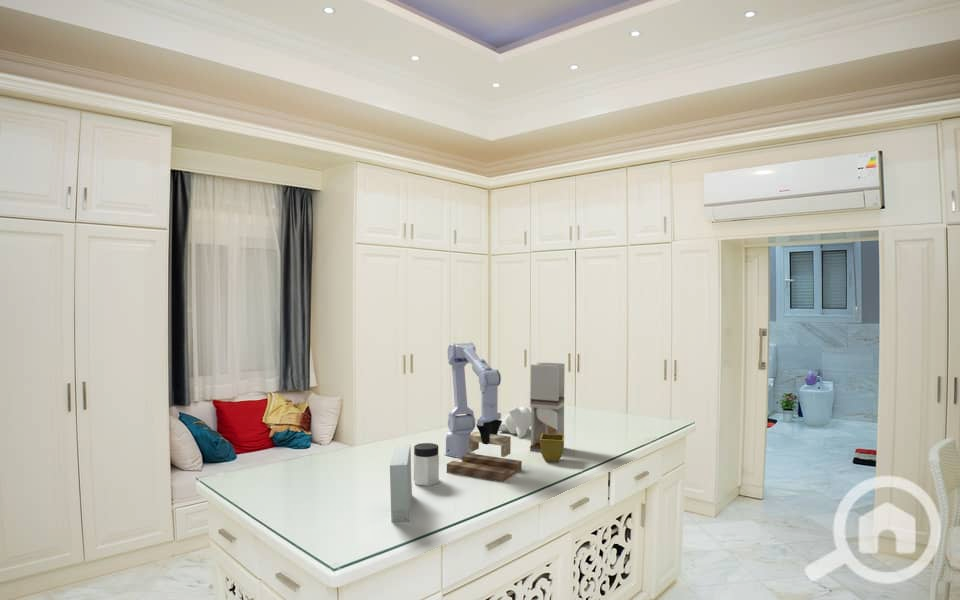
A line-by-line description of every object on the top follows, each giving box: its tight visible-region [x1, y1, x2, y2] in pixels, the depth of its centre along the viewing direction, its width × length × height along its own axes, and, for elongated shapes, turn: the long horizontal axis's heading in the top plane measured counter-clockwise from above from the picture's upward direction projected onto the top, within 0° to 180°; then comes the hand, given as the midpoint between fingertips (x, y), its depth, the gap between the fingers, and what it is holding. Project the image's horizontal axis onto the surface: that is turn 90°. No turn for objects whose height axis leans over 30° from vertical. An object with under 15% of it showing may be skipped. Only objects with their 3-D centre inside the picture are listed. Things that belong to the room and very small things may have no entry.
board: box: [446, 453, 523, 483], centre depth 198 cm, size 22×16×3 cm
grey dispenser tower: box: [529, 361, 566, 453], centre depth 227 cm, size 11×11×35 cm
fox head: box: [498, 406, 531, 439], centre depth 255 cm, size 13×17×20 cm
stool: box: [469, 431, 512, 458], centre depth 197 cm, size 14×5×6 cm, turn 61°
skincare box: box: [389, 444, 413, 523], centre depth 162 cm, size 21×5×16 cm, turn 5°
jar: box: [413, 442, 440, 487], centre depth 185 cm, size 9×8×12 cm
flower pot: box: [540, 434, 565, 463], centre depth 211 cm, size 9×9×9 cm
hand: (489, 442), depth 197 cm, fingers closed on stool, 5 cm apart
